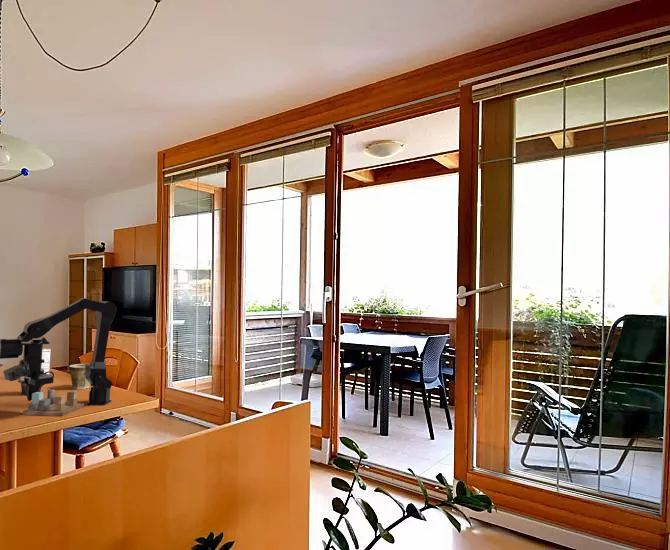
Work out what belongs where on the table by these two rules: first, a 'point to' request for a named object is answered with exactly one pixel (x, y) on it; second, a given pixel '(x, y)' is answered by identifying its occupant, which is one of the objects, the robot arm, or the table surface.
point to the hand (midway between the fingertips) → (29, 400)
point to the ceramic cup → (78, 376)
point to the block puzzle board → (55, 405)
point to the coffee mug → (39, 387)
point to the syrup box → (46, 360)
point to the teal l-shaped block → (37, 397)
